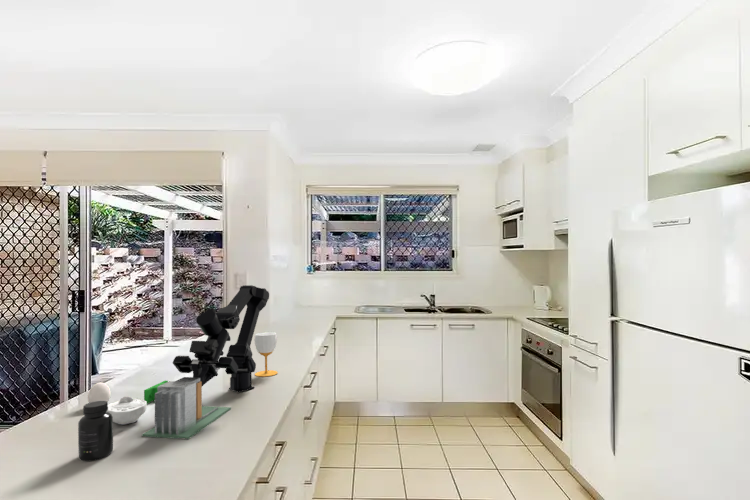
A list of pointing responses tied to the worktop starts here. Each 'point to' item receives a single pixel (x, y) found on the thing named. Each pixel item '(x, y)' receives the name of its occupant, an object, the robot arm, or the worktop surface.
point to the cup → (265, 349)
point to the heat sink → (177, 406)
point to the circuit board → (196, 428)
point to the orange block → (198, 400)
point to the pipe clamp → (151, 392)
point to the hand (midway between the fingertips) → (194, 390)
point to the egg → (99, 393)
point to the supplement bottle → (95, 432)
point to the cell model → (127, 410)
